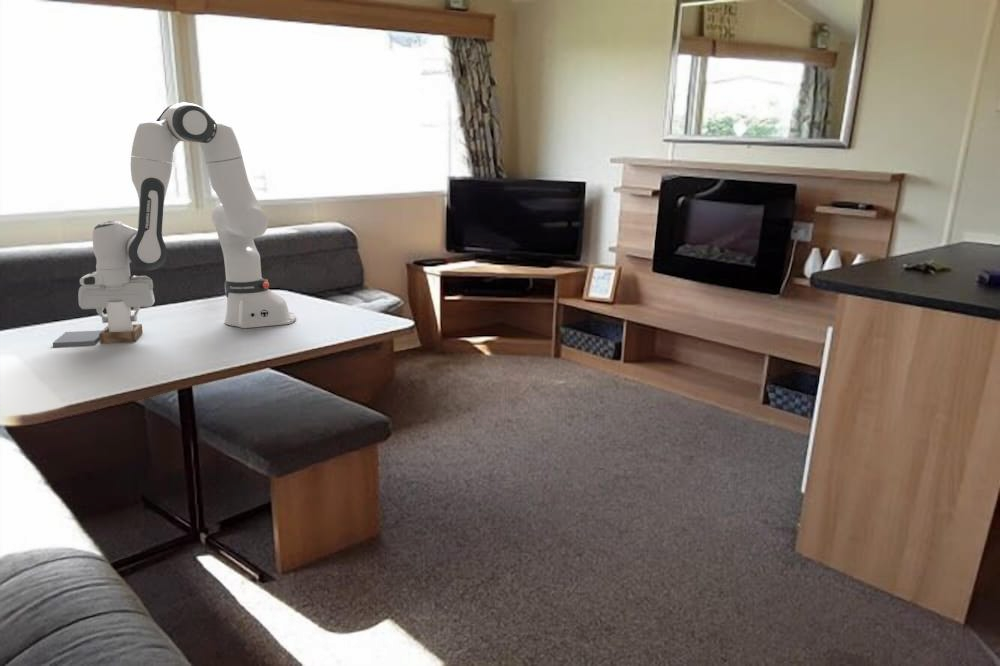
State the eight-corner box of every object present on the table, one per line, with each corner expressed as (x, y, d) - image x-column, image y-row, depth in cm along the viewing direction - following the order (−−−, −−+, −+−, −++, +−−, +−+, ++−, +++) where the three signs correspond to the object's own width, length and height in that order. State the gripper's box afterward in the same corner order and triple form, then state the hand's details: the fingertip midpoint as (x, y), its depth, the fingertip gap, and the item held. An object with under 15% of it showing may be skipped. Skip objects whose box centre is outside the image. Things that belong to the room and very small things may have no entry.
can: (138, 335, 225) (133, 297, 222) (126, 341, 219) (121, 302, 216) (118, 334, 226) (113, 296, 223) (105, 340, 220) (100, 301, 217)
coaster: (105, 333, 227) (105, 330, 227) (94, 344, 216) (94, 340, 215) (66, 335, 224) (65, 332, 224) (53, 346, 213) (52, 342, 213)
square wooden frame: (142, 333, 228) (141, 323, 227) (135, 341, 219) (134, 332, 218) (109, 334, 226) (107, 325, 225) (100, 343, 217) (99, 333, 216)
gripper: (154, 273, 223) (159, 317, 227) (79, 275, 218) (86, 320, 222) (149, 277, 217) (155, 322, 221) (73, 279, 212) (80, 326, 216)
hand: (120, 321), depth 221 cm, fingers closed on can, 6 cm apart
